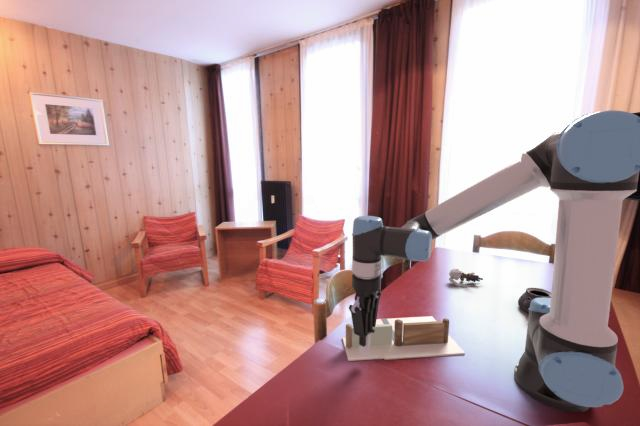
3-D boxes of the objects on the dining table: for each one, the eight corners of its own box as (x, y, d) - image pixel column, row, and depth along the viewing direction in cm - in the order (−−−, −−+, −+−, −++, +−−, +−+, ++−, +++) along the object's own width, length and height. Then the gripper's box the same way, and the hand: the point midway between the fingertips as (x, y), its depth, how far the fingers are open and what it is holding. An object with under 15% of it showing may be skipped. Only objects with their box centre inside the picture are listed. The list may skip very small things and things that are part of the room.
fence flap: (390, 341, 91) (390, 321, 90) (392, 345, 90) (392, 324, 88) (345, 344, 90) (345, 324, 89) (346, 348, 88) (346, 327, 87)
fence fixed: (449, 343, 91) (451, 320, 89) (395, 346, 89) (396, 323, 88) (445, 338, 93) (447, 316, 92) (392, 342, 92) (393, 319, 90)
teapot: (507, 310, 111) (509, 285, 109) (526, 300, 119) (529, 276, 117) (569, 334, 95) (573, 306, 93) (586, 320, 103) (590, 294, 102)
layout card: (464, 354, 86) (464, 352, 86) (348, 362, 84) (348, 360, 84) (432, 317, 107) (432, 315, 107) (338, 322, 104) (338, 321, 104)
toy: (487, 270, 131) (453, 263, 131) (488, 288, 127) (454, 281, 127) (474, 277, 140) (443, 271, 141) (475, 294, 136) (443, 287, 137)
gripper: (365, 285, 71) (363, 372, 75) (390, 270, 81) (387, 348, 85) (340, 278, 76) (340, 360, 80) (367, 264, 86) (365, 338, 90)
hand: (364, 353), depth 82 cm, fingers closed
